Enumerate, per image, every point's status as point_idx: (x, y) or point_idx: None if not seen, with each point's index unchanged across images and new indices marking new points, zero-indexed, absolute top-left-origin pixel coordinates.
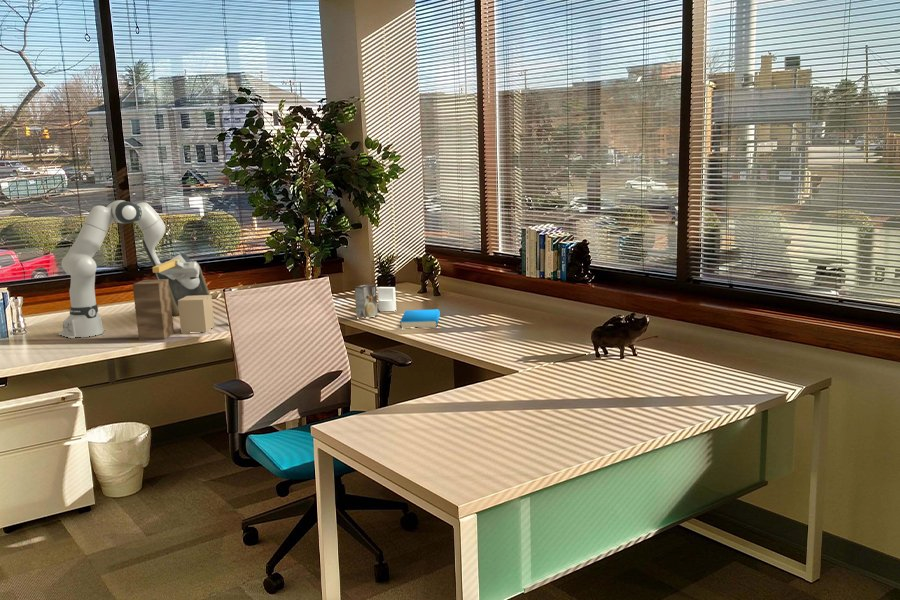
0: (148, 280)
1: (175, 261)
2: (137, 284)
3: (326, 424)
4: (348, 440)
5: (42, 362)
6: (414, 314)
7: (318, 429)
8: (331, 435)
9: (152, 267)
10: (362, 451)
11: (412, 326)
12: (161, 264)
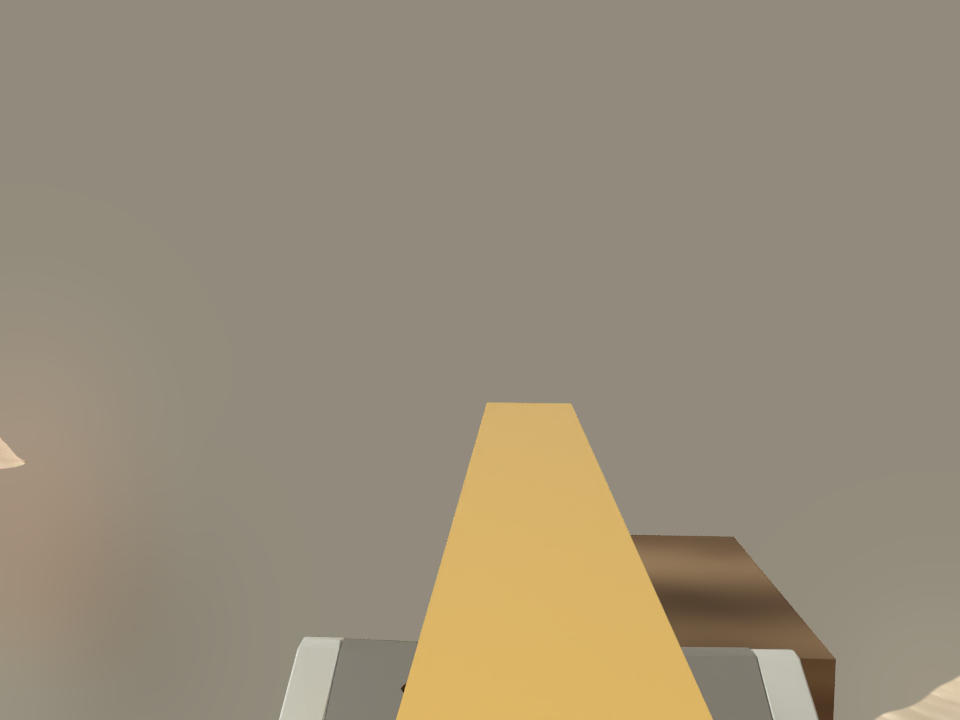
0: (707, 629)
1: (399, 645)
2: (679, 538)
3: (4, 467)
4: (3, 452)
5: (918, 707)
6: None
7: (25, 463)
8: (17, 457)
9: (569, 405)
10: (4, 444)
11: None
12: (554, 448)
